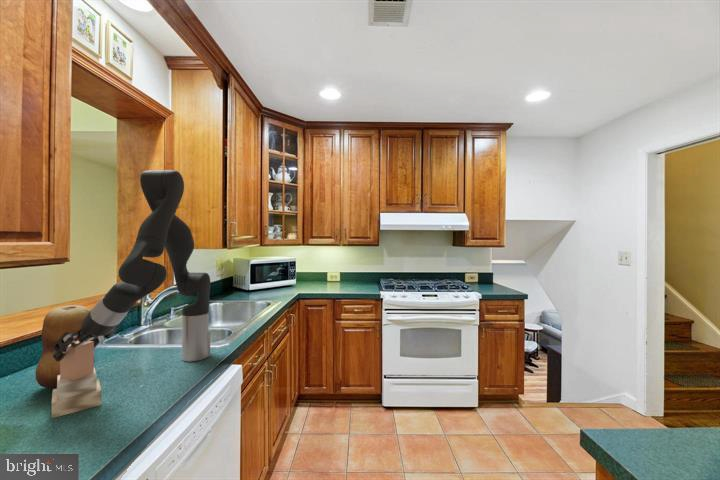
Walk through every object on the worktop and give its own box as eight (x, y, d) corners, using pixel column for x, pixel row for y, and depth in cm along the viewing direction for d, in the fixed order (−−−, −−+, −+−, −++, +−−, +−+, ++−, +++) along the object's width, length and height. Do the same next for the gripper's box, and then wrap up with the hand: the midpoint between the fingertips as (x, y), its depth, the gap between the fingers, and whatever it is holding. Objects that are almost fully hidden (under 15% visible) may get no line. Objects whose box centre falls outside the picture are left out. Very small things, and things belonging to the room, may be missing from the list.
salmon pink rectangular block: (79, 371, 92) (79, 340, 92) (93, 372, 91) (93, 341, 91) (60, 378, 87) (60, 345, 87) (74, 380, 86) (75, 347, 86)
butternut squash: (61, 398, 92) (61, 312, 92) (23, 394, 94) (23, 310, 94) (106, 377, 106) (106, 302, 106) (71, 375, 108) (72, 301, 108)
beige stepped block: (98, 392, 96) (98, 365, 96) (101, 404, 89) (101, 376, 89) (52, 403, 89) (52, 375, 89) (51, 418, 82) (51, 387, 82)
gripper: (123, 299, 94) (91, 335, 97) (71, 310, 81) (35, 351, 83) (138, 318, 93) (106, 354, 96) (88, 332, 79) (51, 374, 82)
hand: (73, 353), depth 89 cm, fingers open, 8 cm apart
